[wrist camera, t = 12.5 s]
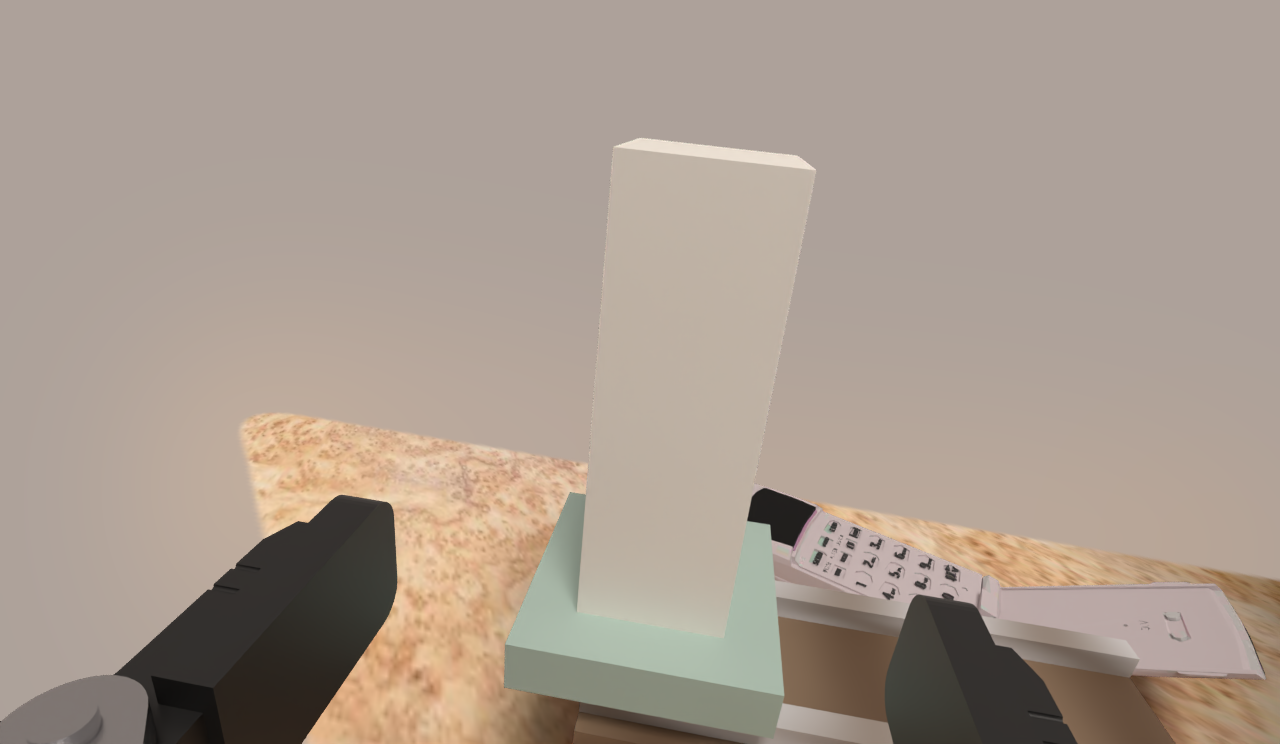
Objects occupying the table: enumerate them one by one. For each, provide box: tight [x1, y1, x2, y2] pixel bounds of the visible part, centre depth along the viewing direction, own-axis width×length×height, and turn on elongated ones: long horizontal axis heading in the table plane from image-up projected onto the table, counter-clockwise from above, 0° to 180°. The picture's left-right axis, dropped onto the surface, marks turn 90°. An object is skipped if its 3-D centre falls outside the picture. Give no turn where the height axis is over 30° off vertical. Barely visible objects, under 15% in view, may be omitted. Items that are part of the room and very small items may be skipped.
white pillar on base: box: [504, 138, 816, 739], centre depth 17 cm, size 7×7×14 cm
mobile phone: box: [747, 483, 1266, 680], centre depth 30 cm, size 6×6×25 cm
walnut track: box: [573, 581, 1175, 744], centre depth 21 cm, size 17×7×7 cm, turn 82°
